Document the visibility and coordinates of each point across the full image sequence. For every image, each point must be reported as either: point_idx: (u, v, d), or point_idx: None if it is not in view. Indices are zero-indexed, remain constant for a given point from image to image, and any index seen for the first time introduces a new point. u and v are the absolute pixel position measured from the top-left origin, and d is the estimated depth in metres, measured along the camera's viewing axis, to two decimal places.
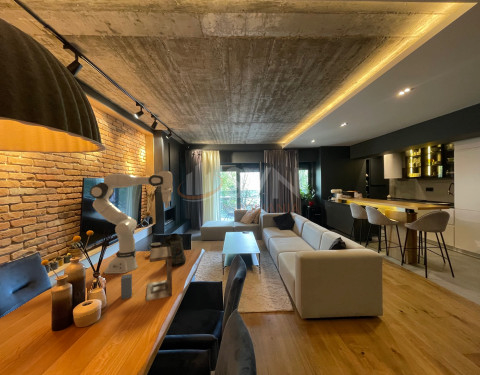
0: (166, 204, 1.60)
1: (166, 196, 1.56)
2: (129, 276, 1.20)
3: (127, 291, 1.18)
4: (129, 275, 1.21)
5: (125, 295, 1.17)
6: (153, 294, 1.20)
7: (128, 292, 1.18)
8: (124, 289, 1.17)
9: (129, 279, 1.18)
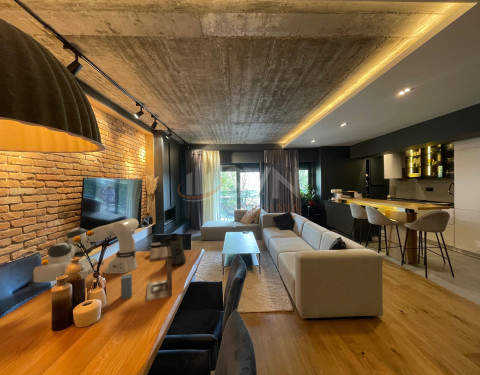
0: (93, 270, 1.08)
1: None
2: (129, 276, 1.20)
3: (127, 291, 1.18)
4: (129, 275, 1.21)
5: (125, 295, 1.17)
6: (153, 294, 1.20)
7: (128, 292, 1.18)
8: (124, 289, 1.17)
9: (129, 279, 1.18)
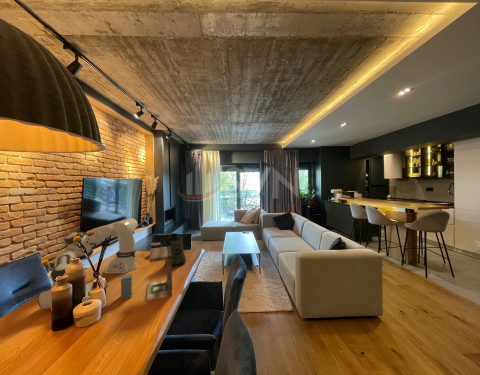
0: None
1: None
2: (129, 276, 1.20)
3: (127, 291, 1.18)
4: (129, 275, 1.21)
5: (125, 295, 1.17)
6: (153, 294, 1.20)
7: (128, 292, 1.18)
8: (124, 289, 1.17)
9: (129, 279, 1.18)
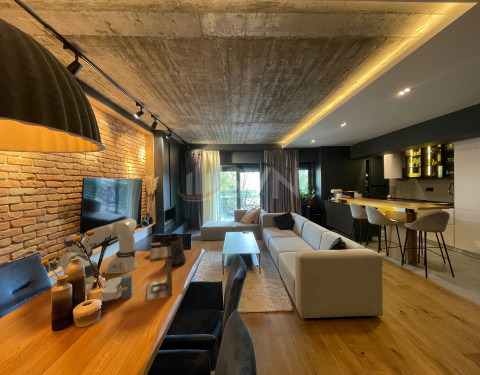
0: (121, 289, 1.15)
1: (106, 295, 1.08)
2: (129, 276, 1.20)
3: (127, 291, 1.18)
4: (129, 275, 1.21)
5: (125, 295, 1.18)
6: (153, 294, 1.20)
7: (128, 291, 1.18)
8: None
9: (129, 279, 1.18)
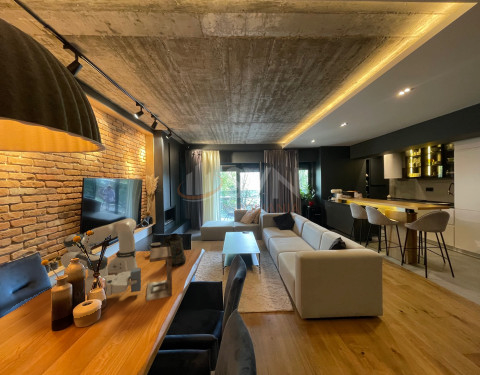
0: (131, 282, 1.17)
1: (116, 288, 1.09)
2: (138, 270, 1.21)
3: (136, 284, 1.20)
4: (138, 269, 1.23)
5: (135, 288, 1.19)
6: (153, 294, 1.20)
7: (137, 285, 1.20)
8: None
9: (138, 273, 1.20)
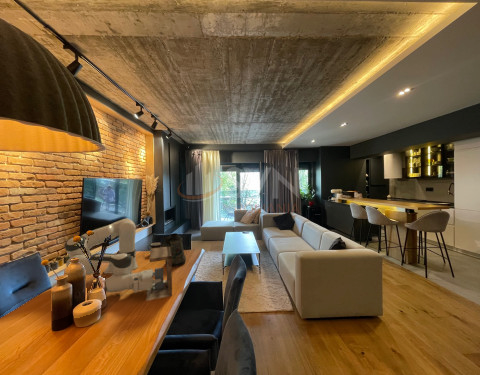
0: (155, 281, 1.20)
1: (143, 285, 1.14)
2: (161, 269, 1.26)
3: (160, 283, 1.25)
4: (161, 268, 1.28)
5: (158, 287, 1.24)
6: (153, 294, 1.20)
7: (160, 284, 1.25)
8: (157, 282, 1.24)
9: (162, 272, 1.25)
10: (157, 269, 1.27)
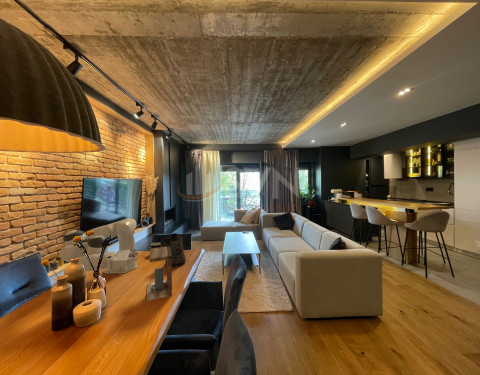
0: (131, 259, 1.15)
1: (116, 263, 1.09)
2: (161, 269, 1.26)
3: (160, 283, 1.25)
4: (161, 268, 1.28)
5: (158, 287, 1.24)
6: (153, 294, 1.20)
7: (160, 284, 1.25)
8: (157, 282, 1.24)
9: (162, 272, 1.25)
10: (157, 269, 1.27)
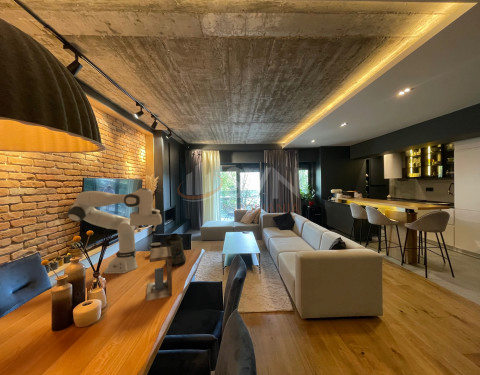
0: (155, 226, 1.41)
1: (161, 217, 1.42)
2: (161, 269, 1.26)
3: (160, 283, 1.25)
4: (161, 268, 1.28)
5: (158, 287, 1.24)
6: (153, 294, 1.20)
7: (160, 284, 1.25)
8: (157, 282, 1.24)
9: (162, 272, 1.25)
10: (157, 269, 1.27)
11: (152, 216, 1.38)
